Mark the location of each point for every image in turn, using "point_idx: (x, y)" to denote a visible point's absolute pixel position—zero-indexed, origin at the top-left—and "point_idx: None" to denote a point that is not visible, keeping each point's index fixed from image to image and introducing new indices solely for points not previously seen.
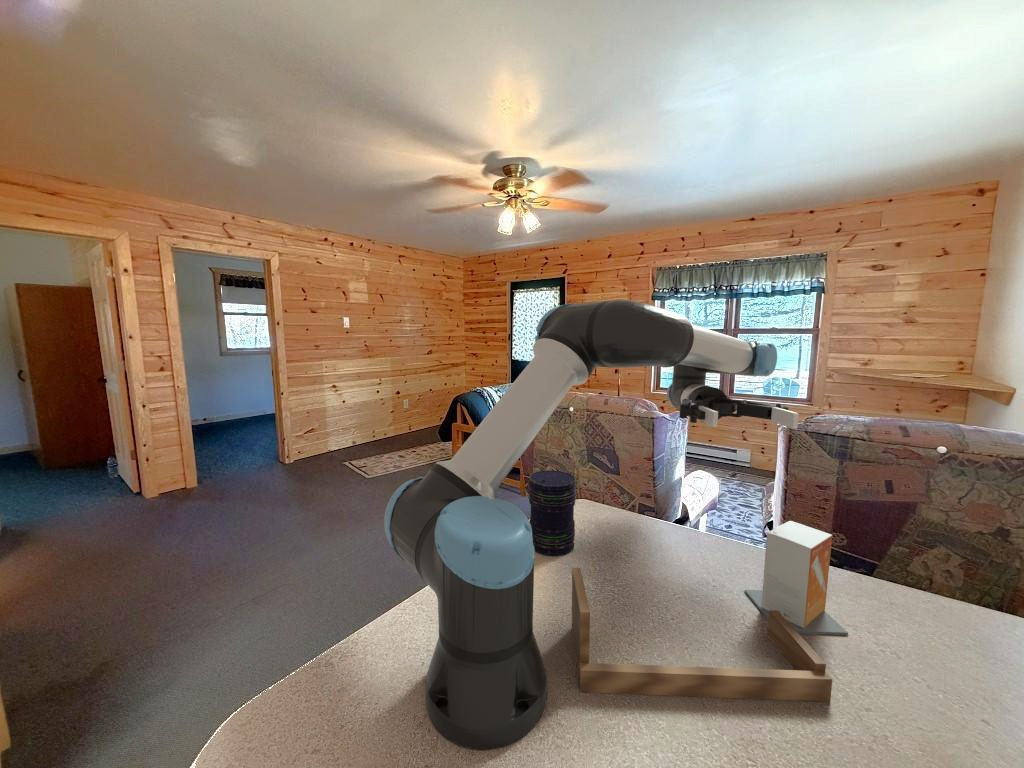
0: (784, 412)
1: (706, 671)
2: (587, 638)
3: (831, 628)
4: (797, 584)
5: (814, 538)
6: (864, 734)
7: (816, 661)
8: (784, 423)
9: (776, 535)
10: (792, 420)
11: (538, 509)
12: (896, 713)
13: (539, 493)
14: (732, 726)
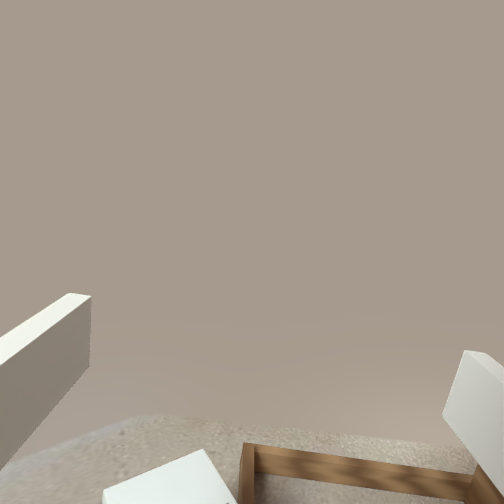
0: (40, 347)
1: (357, 461)
2: None
3: None
4: None
5: (163, 476)
6: (235, 436)
7: (251, 447)
8: (45, 405)
9: (232, 495)
10: (84, 337)
11: None
12: (190, 446)
13: None
14: (334, 452)
